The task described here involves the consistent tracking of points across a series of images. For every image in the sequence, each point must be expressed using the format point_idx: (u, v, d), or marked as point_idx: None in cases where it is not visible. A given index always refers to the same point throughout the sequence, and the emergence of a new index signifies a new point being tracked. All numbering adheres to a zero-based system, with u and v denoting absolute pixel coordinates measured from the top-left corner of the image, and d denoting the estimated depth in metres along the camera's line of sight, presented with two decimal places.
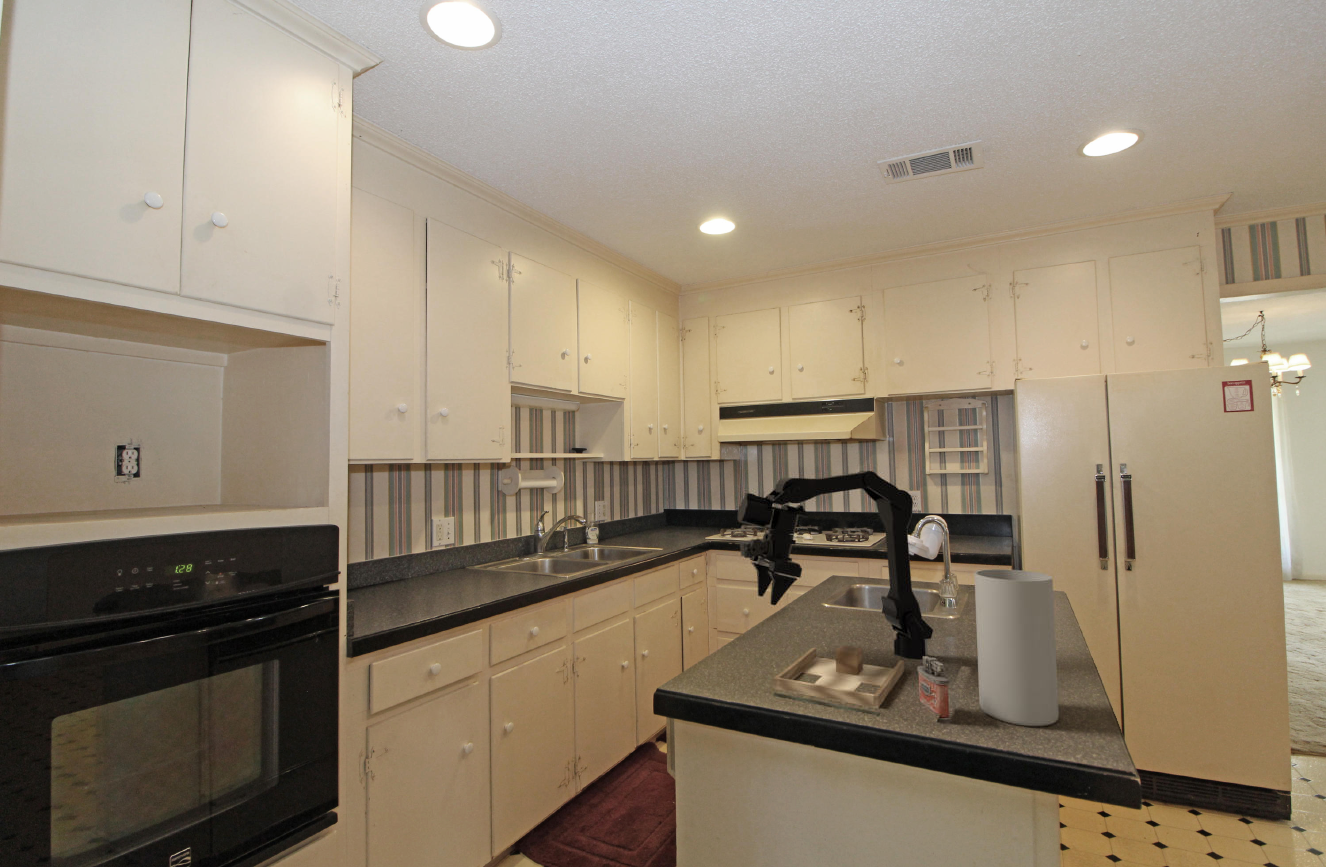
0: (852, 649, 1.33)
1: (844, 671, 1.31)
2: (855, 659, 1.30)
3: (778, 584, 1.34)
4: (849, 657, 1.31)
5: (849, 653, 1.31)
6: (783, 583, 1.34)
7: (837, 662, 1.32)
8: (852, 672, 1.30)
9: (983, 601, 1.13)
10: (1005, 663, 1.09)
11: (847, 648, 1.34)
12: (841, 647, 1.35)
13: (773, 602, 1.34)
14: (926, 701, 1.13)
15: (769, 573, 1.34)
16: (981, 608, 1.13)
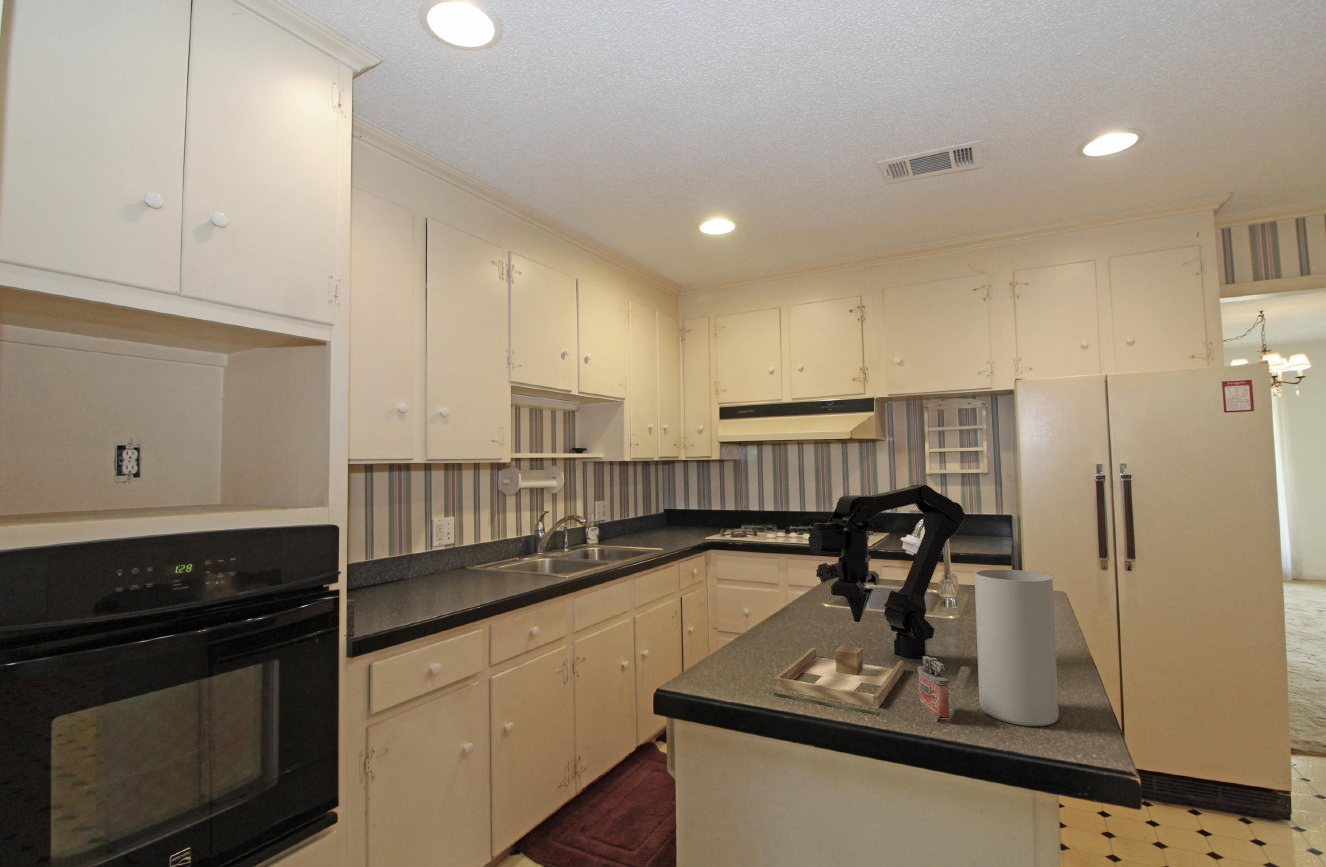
0: (852, 649, 1.33)
1: (844, 671, 1.31)
2: (855, 659, 1.30)
3: (854, 601, 1.39)
4: (849, 657, 1.31)
5: (849, 653, 1.31)
6: (858, 600, 1.38)
7: (837, 662, 1.32)
8: (852, 672, 1.30)
9: (983, 601, 1.13)
10: (1005, 663, 1.09)
11: (847, 648, 1.34)
12: (841, 647, 1.35)
13: (856, 619, 1.39)
14: (926, 701, 1.13)
15: None
16: (981, 608, 1.13)
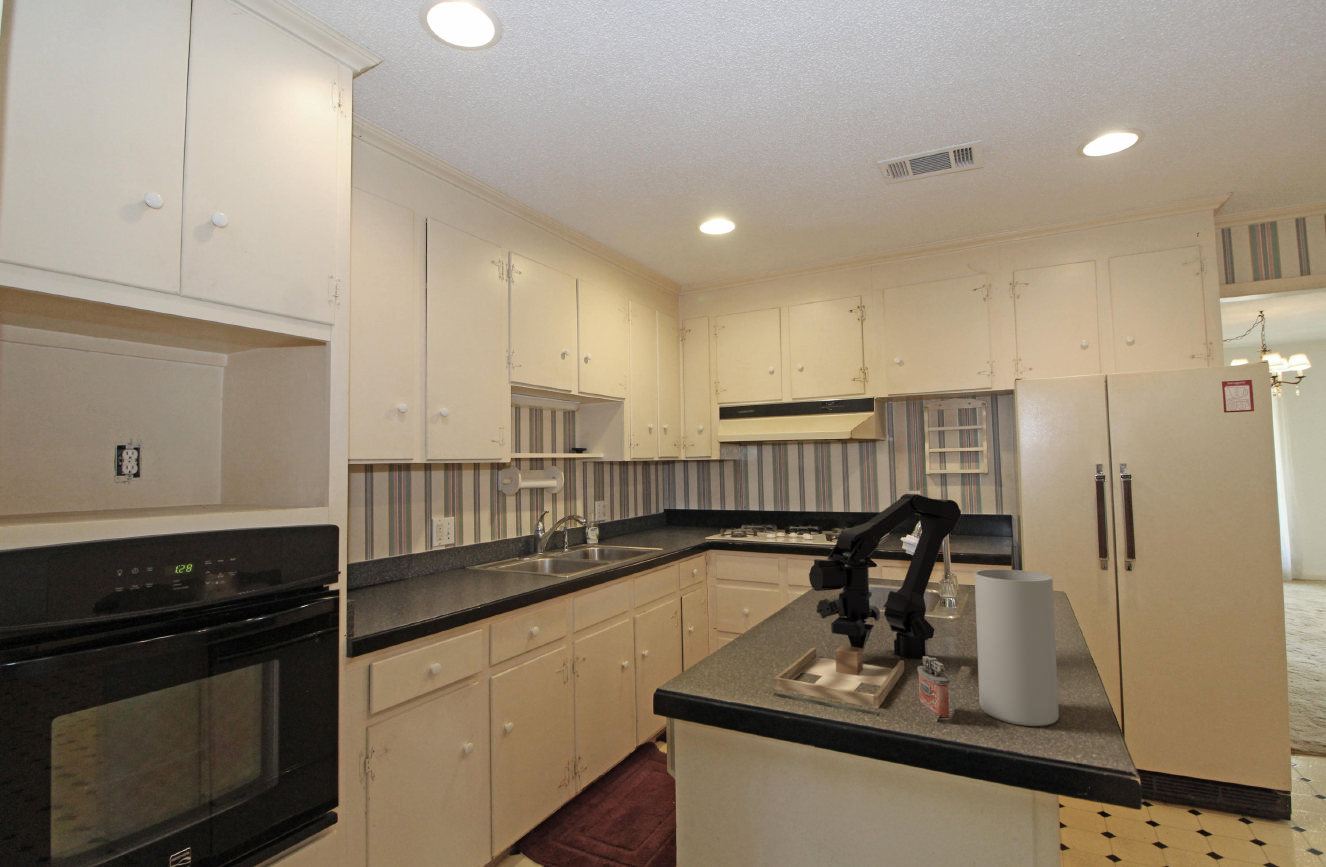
0: (852, 649, 1.33)
1: (844, 671, 1.31)
2: (855, 659, 1.30)
3: (854, 638, 1.38)
4: (849, 657, 1.31)
5: (849, 653, 1.31)
6: (859, 637, 1.37)
7: (837, 662, 1.32)
8: (852, 672, 1.30)
9: (983, 601, 1.13)
10: (1005, 663, 1.09)
11: (847, 648, 1.34)
12: (841, 647, 1.35)
13: None
14: (926, 701, 1.13)
15: None
16: (981, 608, 1.13)
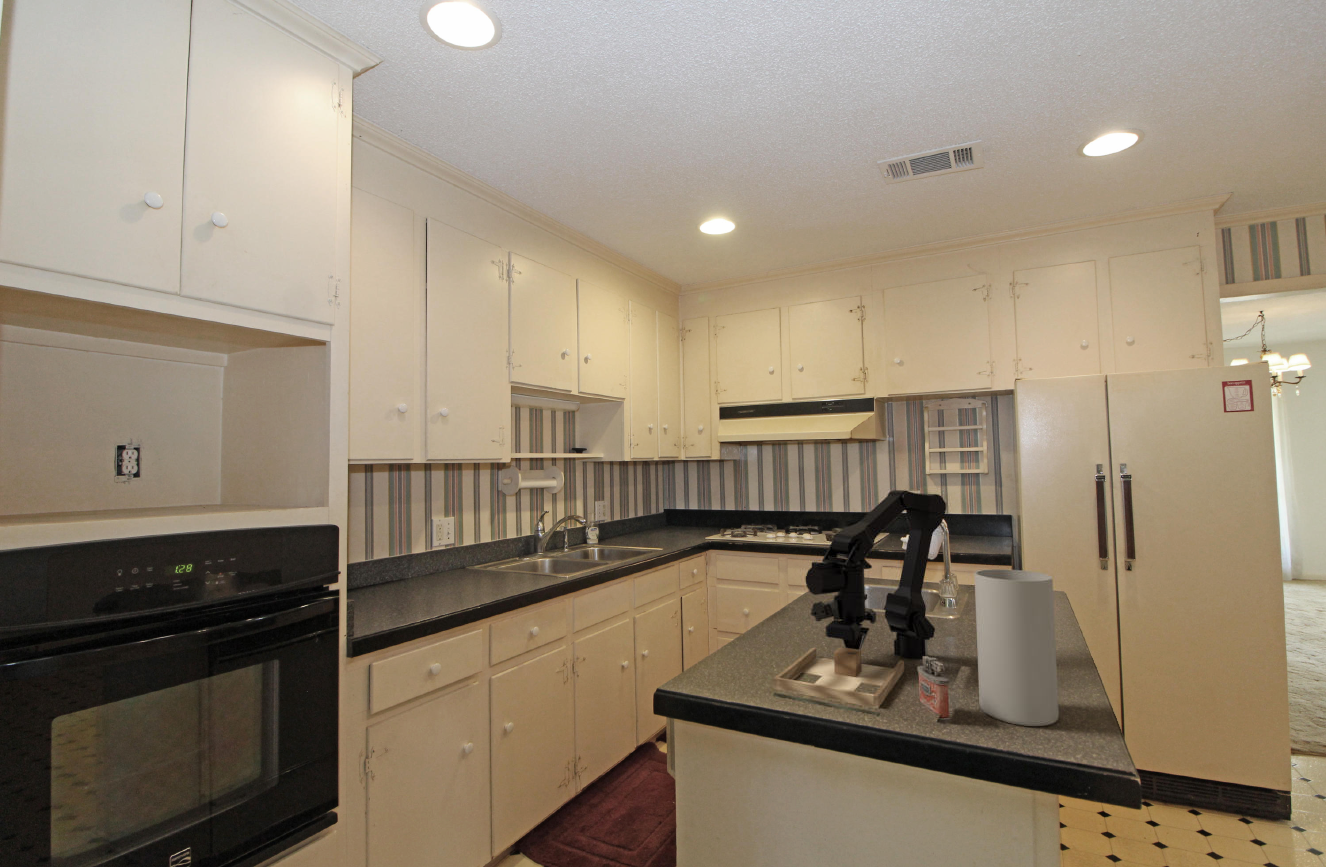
0: (851, 651, 1.32)
1: (843, 673, 1.30)
2: (854, 661, 1.29)
3: (850, 642, 1.35)
4: (848, 659, 1.30)
5: (847, 655, 1.30)
6: (854, 640, 1.34)
7: (835, 664, 1.31)
8: (851, 674, 1.29)
9: (983, 601, 1.13)
10: (1005, 663, 1.09)
11: (846, 650, 1.33)
12: (840, 648, 1.34)
13: None
14: (926, 701, 1.13)
15: None
16: (981, 608, 1.13)
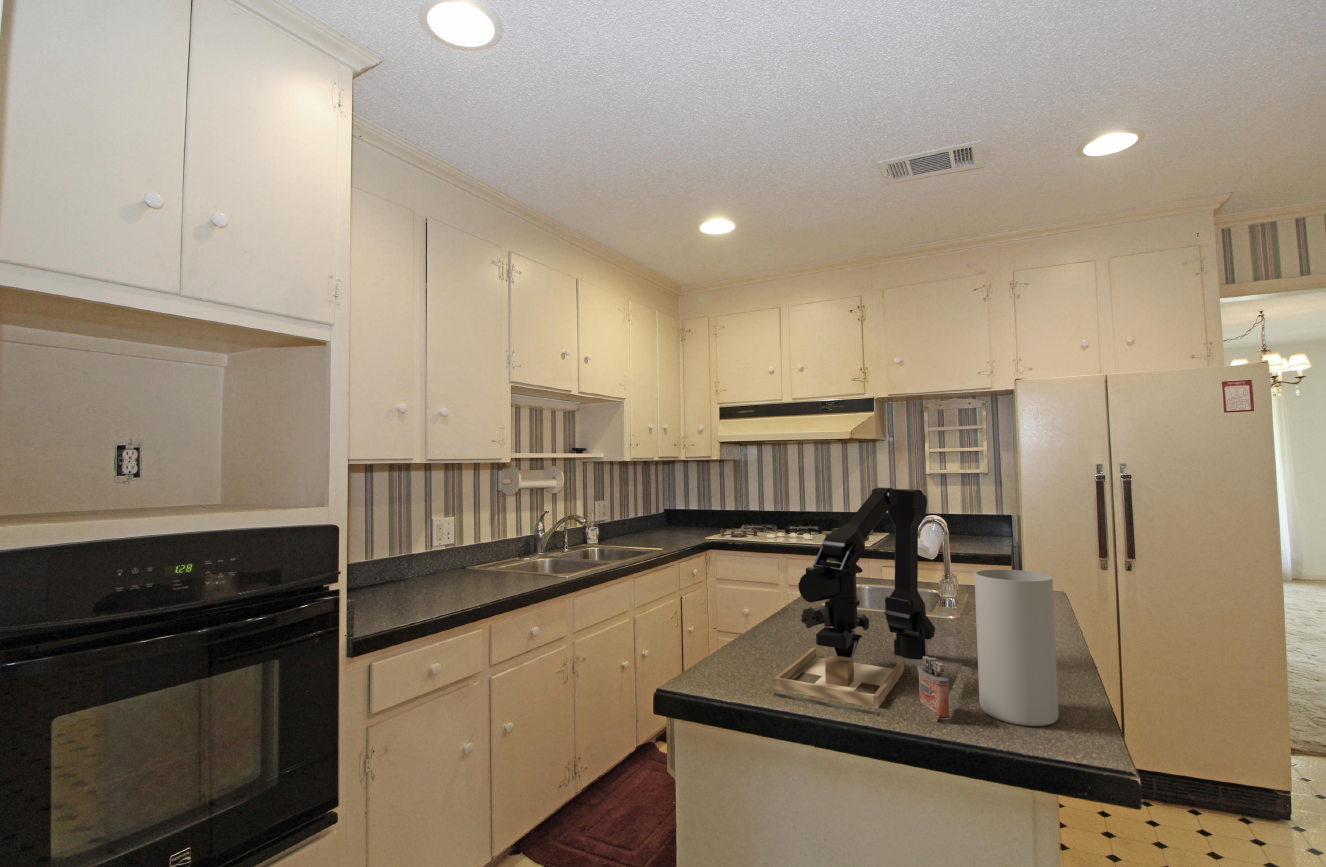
0: (843, 659, 1.27)
1: (834, 682, 1.25)
2: (845, 670, 1.24)
3: (841, 649, 1.29)
4: (839, 668, 1.24)
5: (839, 663, 1.24)
6: (846, 648, 1.29)
7: (827, 673, 1.26)
8: (842, 683, 1.24)
9: (983, 601, 1.13)
10: (1005, 663, 1.09)
11: (837, 658, 1.27)
12: (831, 657, 1.28)
13: None
14: (926, 701, 1.13)
15: None
16: (981, 608, 1.13)
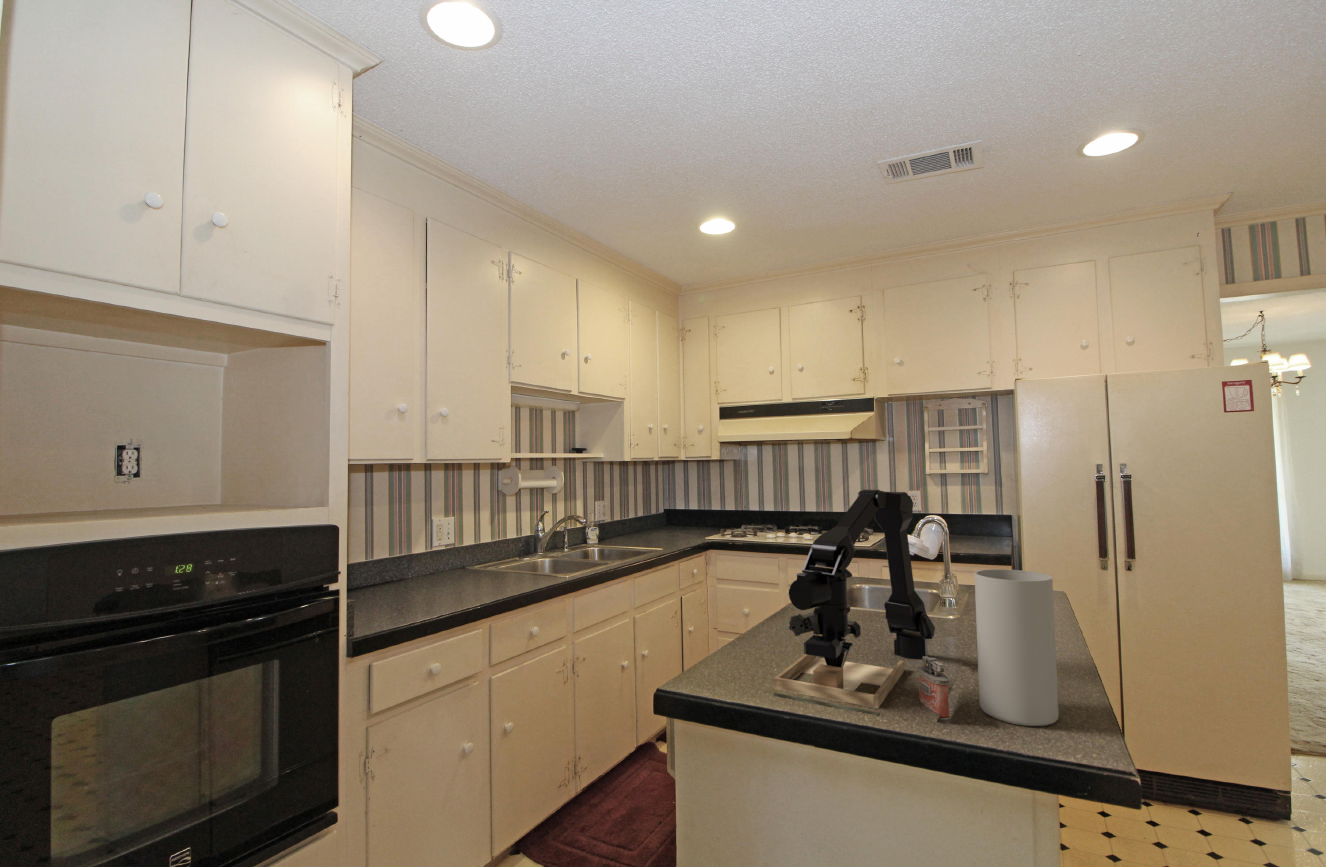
0: (831, 669, 1.21)
1: None
2: (834, 680, 1.18)
3: (831, 658, 1.23)
4: (828, 678, 1.18)
5: (828, 674, 1.18)
6: (836, 657, 1.23)
7: (815, 683, 1.20)
8: None
9: (983, 601, 1.13)
10: (1005, 663, 1.09)
11: (826, 668, 1.21)
12: (820, 666, 1.22)
13: None
14: (926, 701, 1.13)
15: None
16: (981, 608, 1.13)
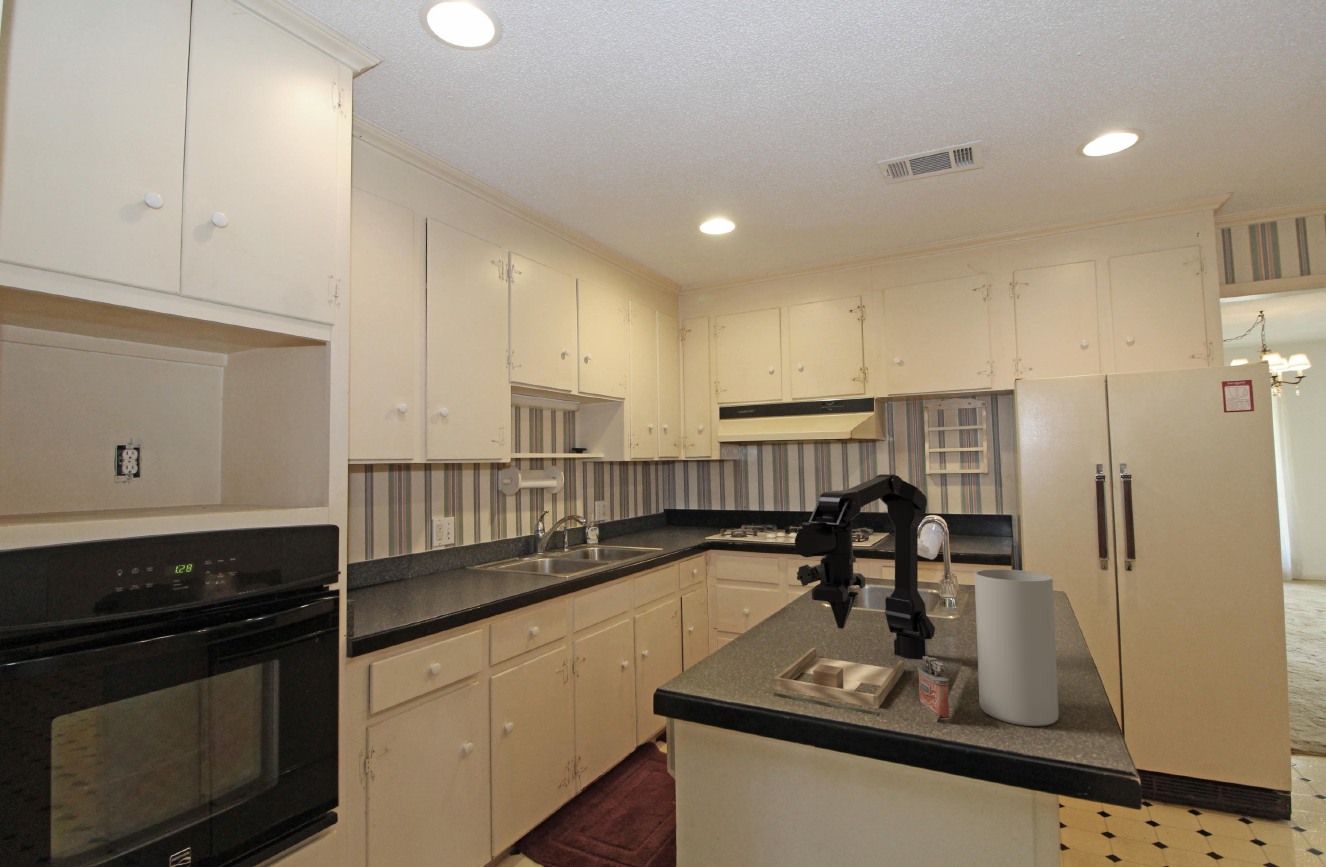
0: (831, 669, 1.21)
1: None
2: (834, 680, 1.18)
3: (837, 606, 1.28)
4: (828, 678, 1.18)
5: (828, 674, 1.18)
6: (842, 605, 1.27)
7: (815, 683, 1.20)
8: None
9: (983, 601, 1.13)
10: (1005, 663, 1.09)
11: (826, 668, 1.21)
12: (820, 666, 1.22)
13: (839, 626, 1.29)
14: (926, 701, 1.13)
15: None
16: (981, 608, 1.13)
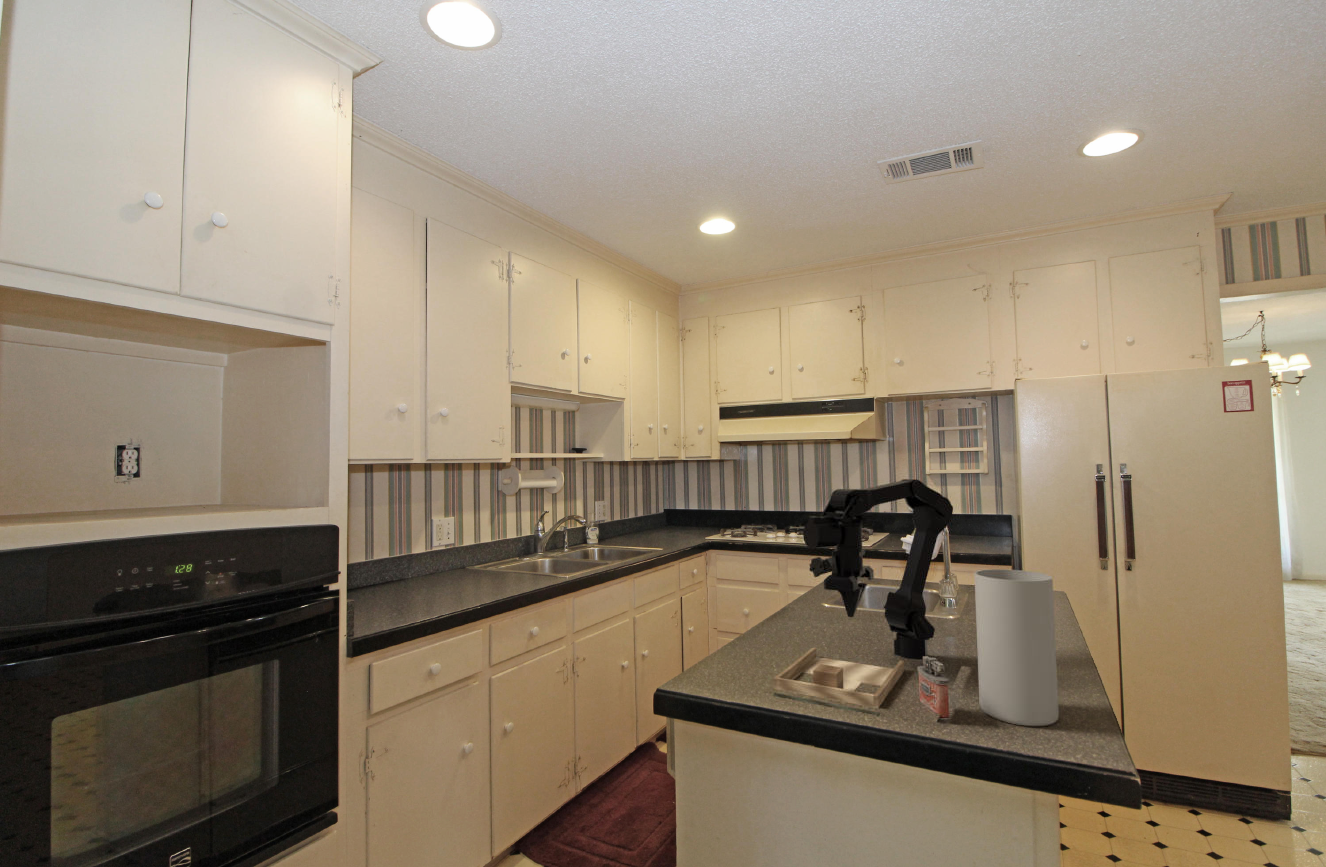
0: (831, 669, 1.21)
1: None
2: (834, 680, 1.18)
3: (847, 596, 1.36)
4: (828, 678, 1.18)
5: (828, 674, 1.18)
6: (852, 595, 1.36)
7: (815, 683, 1.20)
8: None
9: (983, 601, 1.13)
10: (1005, 663, 1.09)
11: (826, 668, 1.21)
12: (820, 666, 1.22)
13: (849, 614, 1.37)
14: (926, 701, 1.13)
15: None
16: (981, 608, 1.13)
